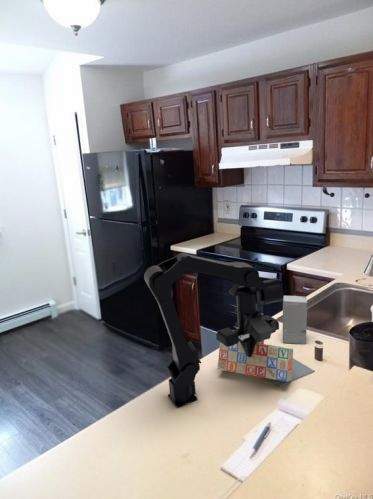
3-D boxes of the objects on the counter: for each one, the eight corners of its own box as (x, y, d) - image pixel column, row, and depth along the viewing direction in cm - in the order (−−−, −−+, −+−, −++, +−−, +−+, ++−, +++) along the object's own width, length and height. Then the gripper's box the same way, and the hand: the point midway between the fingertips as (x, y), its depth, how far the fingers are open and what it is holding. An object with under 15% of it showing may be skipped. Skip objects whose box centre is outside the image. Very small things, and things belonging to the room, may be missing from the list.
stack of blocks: (291, 380, 110) (294, 337, 112) (286, 382, 105) (290, 337, 107) (224, 367, 120) (228, 329, 122) (216, 369, 115) (220, 328, 117)
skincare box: (282, 343, 133) (282, 301, 129) (282, 334, 140) (281, 294, 136) (307, 344, 131) (307, 302, 127) (306, 335, 138) (306, 294, 134)
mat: (279, 386, 108) (279, 385, 108) (245, 363, 122) (245, 362, 122) (314, 371, 114) (314, 370, 114) (279, 350, 128) (279, 349, 128)
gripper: (236, 325, 95) (239, 379, 99) (292, 307, 104) (292, 358, 107) (213, 311, 105) (216, 361, 109) (265, 296, 113) (267, 343, 117)
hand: (249, 356), depth 110 cm, fingers closed
